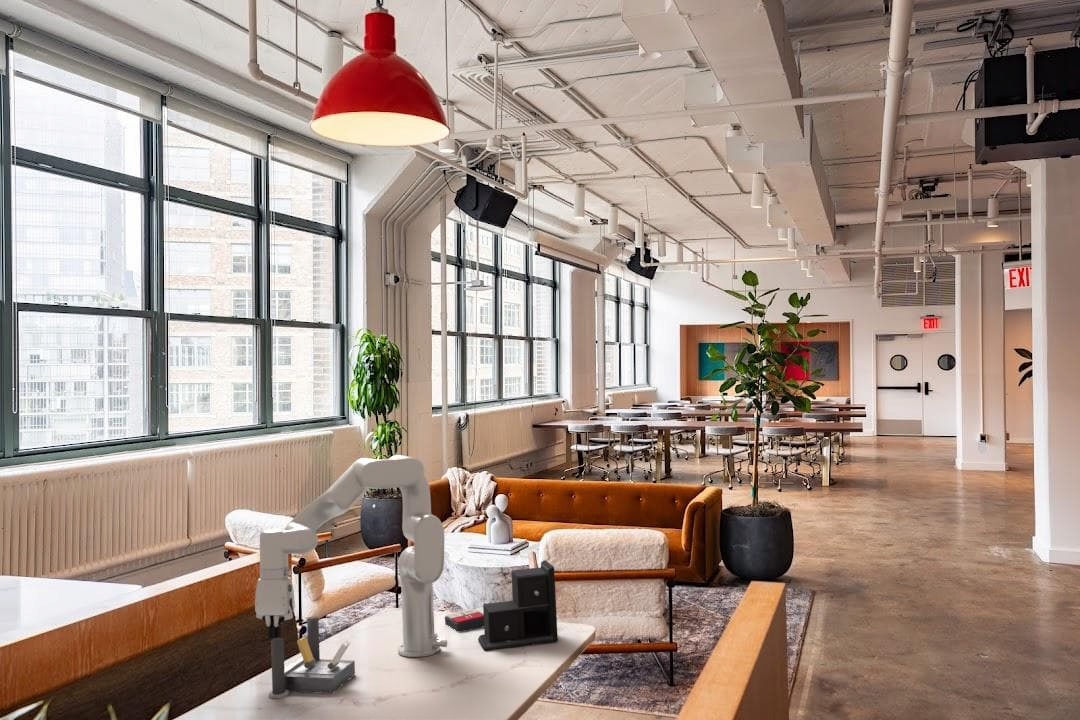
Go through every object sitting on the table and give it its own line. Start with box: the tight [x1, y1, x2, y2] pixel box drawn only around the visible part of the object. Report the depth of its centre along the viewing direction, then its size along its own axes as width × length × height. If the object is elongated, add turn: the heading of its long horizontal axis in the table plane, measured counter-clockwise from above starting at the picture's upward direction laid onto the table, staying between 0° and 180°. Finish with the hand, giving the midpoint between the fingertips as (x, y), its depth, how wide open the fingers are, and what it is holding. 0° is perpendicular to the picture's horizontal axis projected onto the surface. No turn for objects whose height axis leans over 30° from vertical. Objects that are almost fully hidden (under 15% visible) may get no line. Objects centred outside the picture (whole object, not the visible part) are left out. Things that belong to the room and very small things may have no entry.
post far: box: [306, 615, 321, 659], centre depth 246 cm, size 5×5×15 cm
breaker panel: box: [284, 656, 356, 694], centre depth 234 cm, size 16×14×5 cm
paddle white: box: [328, 640, 351, 669], centre depth 233 cm, size 2×4×8 cm
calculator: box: [444, 606, 484, 632], centre depth 285 cm, size 11×4×15 cm
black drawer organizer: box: [477, 559, 559, 652], centre depth 264 cm, size 23×11×24 cm, turn 104°
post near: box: [268, 637, 290, 700], centre depth 226 cm, size 5×5×15 cm
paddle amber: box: [296, 636, 316, 668], centre depth 235 cm, size 2×4×8 cm, turn 168°
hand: (274, 639), depth 237 cm, fingers closed
